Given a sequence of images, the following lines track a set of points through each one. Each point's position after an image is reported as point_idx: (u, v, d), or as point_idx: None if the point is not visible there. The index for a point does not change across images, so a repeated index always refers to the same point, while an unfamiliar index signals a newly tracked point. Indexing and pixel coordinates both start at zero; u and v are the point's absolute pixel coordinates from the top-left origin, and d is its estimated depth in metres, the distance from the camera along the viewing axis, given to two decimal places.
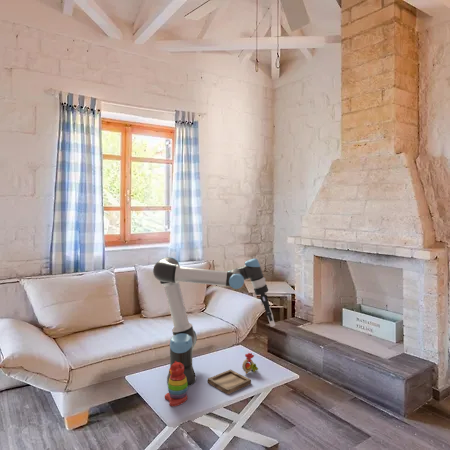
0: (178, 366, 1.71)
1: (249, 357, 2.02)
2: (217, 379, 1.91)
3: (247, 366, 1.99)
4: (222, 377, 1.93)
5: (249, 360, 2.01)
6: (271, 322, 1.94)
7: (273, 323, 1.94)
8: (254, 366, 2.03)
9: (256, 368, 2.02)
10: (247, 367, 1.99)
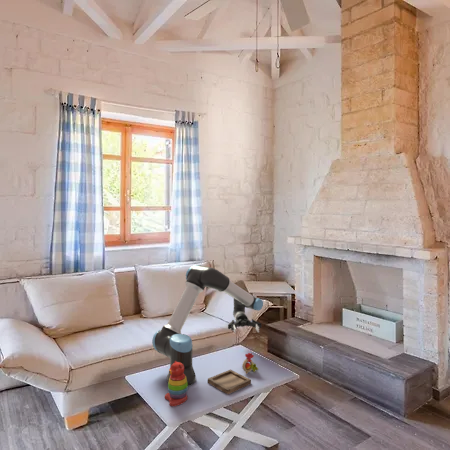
0: (178, 366, 1.71)
1: (249, 357, 2.02)
2: (217, 379, 1.91)
3: (247, 366, 1.99)
4: (222, 377, 1.93)
5: (249, 360, 2.01)
6: None
7: None
8: (254, 366, 2.03)
9: (256, 368, 2.02)
10: (247, 367, 1.99)
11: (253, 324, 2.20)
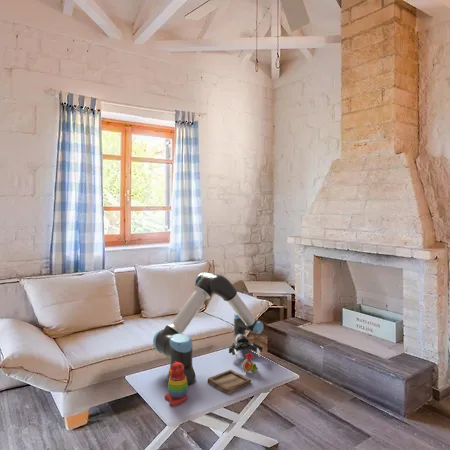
0: (178, 366, 1.71)
1: (249, 357, 2.02)
2: (217, 379, 1.91)
3: (247, 366, 1.99)
4: (222, 377, 1.93)
5: (249, 360, 2.01)
6: None
7: None
8: (254, 366, 2.03)
9: (256, 368, 2.02)
10: (247, 367, 1.99)
11: (254, 348, 2.18)
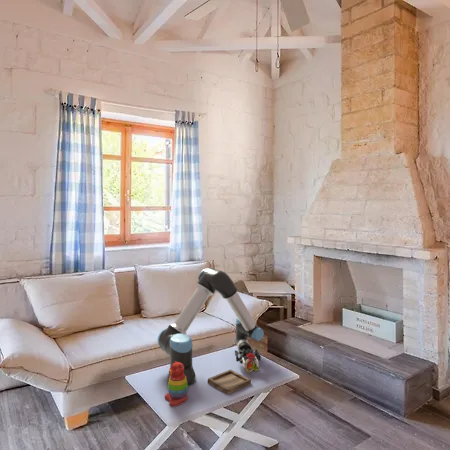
0: (178, 366, 1.71)
1: (250, 357, 2.02)
2: (217, 379, 1.91)
3: (249, 366, 1.99)
4: (222, 377, 1.93)
5: (250, 360, 2.01)
6: (257, 362, 1.99)
7: (257, 364, 1.98)
8: (255, 366, 2.03)
9: (257, 368, 2.02)
10: (249, 367, 1.99)
11: None
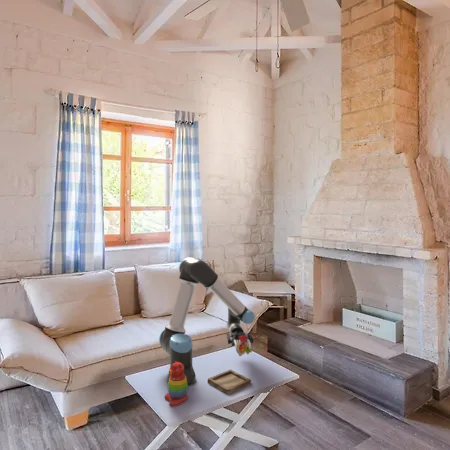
0: (178, 366, 1.71)
1: (243, 339, 1.95)
2: (217, 379, 1.91)
3: (241, 348, 1.92)
4: (222, 377, 1.93)
5: (243, 342, 1.94)
6: None
7: None
8: (248, 348, 1.96)
9: (250, 350, 1.95)
10: (241, 349, 1.92)
11: None
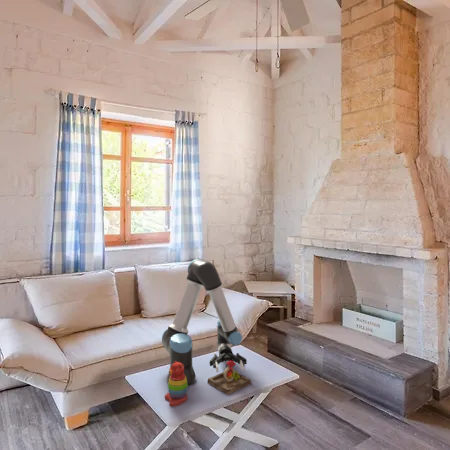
0: (178, 366, 1.71)
1: (230, 365, 1.89)
2: (217, 379, 1.91)
3: (229, 375, 1.86)
4: (222, 377, 1.93)
5: (231, 368, 1.88)
6: (242, 365, 1.88)
7: None
8: (236, 374, 1.90)
9: (238, 376, 1.89)
10: (229, 376, 1.86)
11: (237, 360, 1.95)
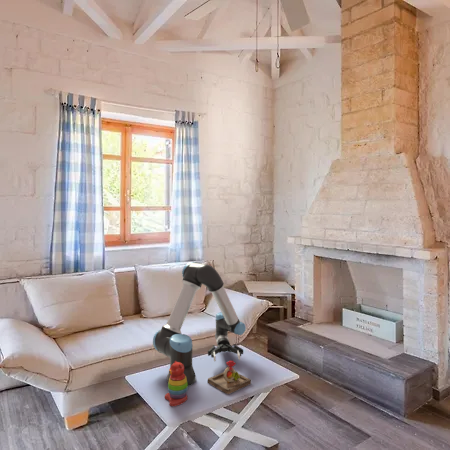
0: (178, 366, 1.71)
1: (230, 365, 1.89)
2: (217, 379, 1.91)
3: (229, 375, 1.86)
4: (222, 377, 1.93)
5: (231, 368, 1.88)
6: (239, 355, 2.01)
7: (239, 357, 2.00)
8: (236, 374, 1.90)
9: (238, 376, 1.89)
10: (229, 376, 1.86)
11: (235, 350, 2.08)
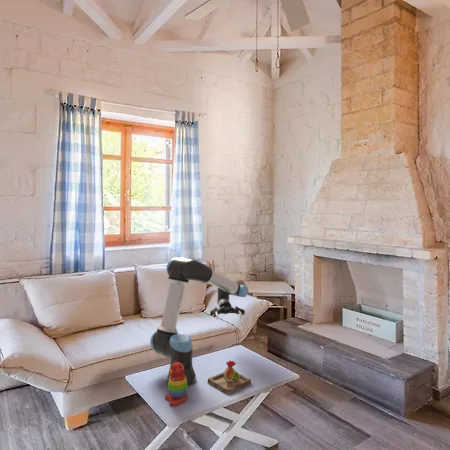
0: (178, 366, 1.71)
1: (230, 365, 1.89)
2: (217, 379, 1.91)
3: (229, 375, 1.86)
4: (222, 377, 1.93)
5: (231, 368, 1.88)
6: None
7: None
8: (236, 374, 1.90)
9: (238, 376, 1.89)
10: (229, 376, 1.86)
11: (236, 311, 2.14)
